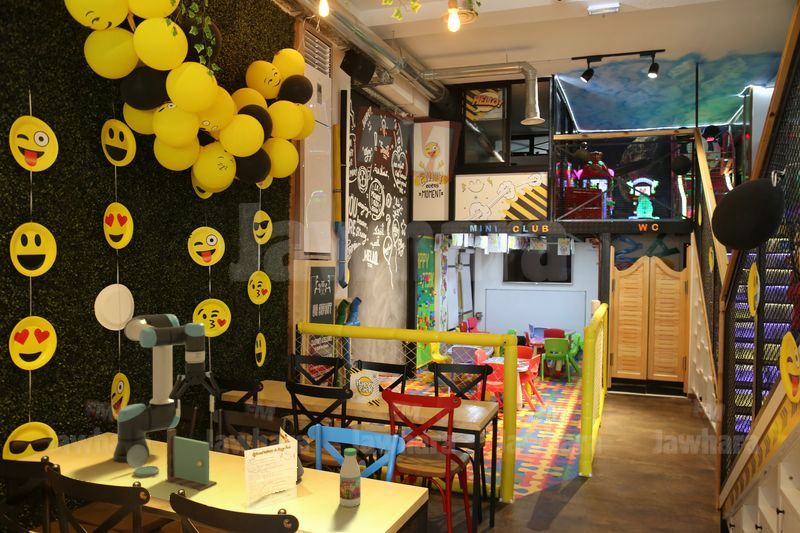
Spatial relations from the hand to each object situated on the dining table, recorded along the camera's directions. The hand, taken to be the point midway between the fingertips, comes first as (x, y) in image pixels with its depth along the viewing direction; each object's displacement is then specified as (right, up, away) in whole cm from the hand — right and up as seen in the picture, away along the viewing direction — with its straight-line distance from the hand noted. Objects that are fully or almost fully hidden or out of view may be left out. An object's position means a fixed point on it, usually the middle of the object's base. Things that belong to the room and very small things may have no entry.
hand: (195, 413), depth 245 cm
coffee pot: (+35, -28, 0) cm, 45 cm away
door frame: (-3, -28, +1) cm, 28 cm away
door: (-3, -27, -1) cm, 27 cm away
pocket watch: (-25, -28, +11) cm, 39 cm away
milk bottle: (+64, -29, -20) cm, 73 cm away
